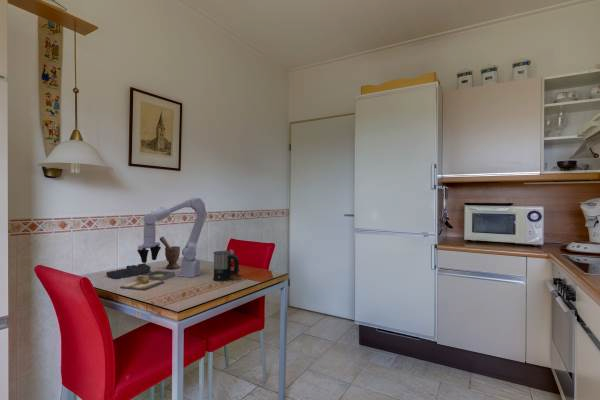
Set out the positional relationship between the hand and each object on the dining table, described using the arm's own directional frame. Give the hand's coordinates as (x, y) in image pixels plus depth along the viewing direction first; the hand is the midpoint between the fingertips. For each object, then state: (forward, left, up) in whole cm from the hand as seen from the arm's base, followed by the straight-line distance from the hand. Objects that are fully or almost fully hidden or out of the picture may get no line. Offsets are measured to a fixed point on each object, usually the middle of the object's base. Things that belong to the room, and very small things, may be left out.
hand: (149, 261), depth 165 cm
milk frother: (-38, -15, -10) cm, 42 cm away
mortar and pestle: (+5, -24, -10) cm, 27 cm away
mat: (-6, +12, -9) cm, 16 cm away
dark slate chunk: (+18, -6, -10) cm, 21 cm away
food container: (-25, -41, -10) cm, 49 cm away
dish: (-3, -3, -9) cm, 10 cm away
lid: (-6, +12, -9) cm, 16 cm away
